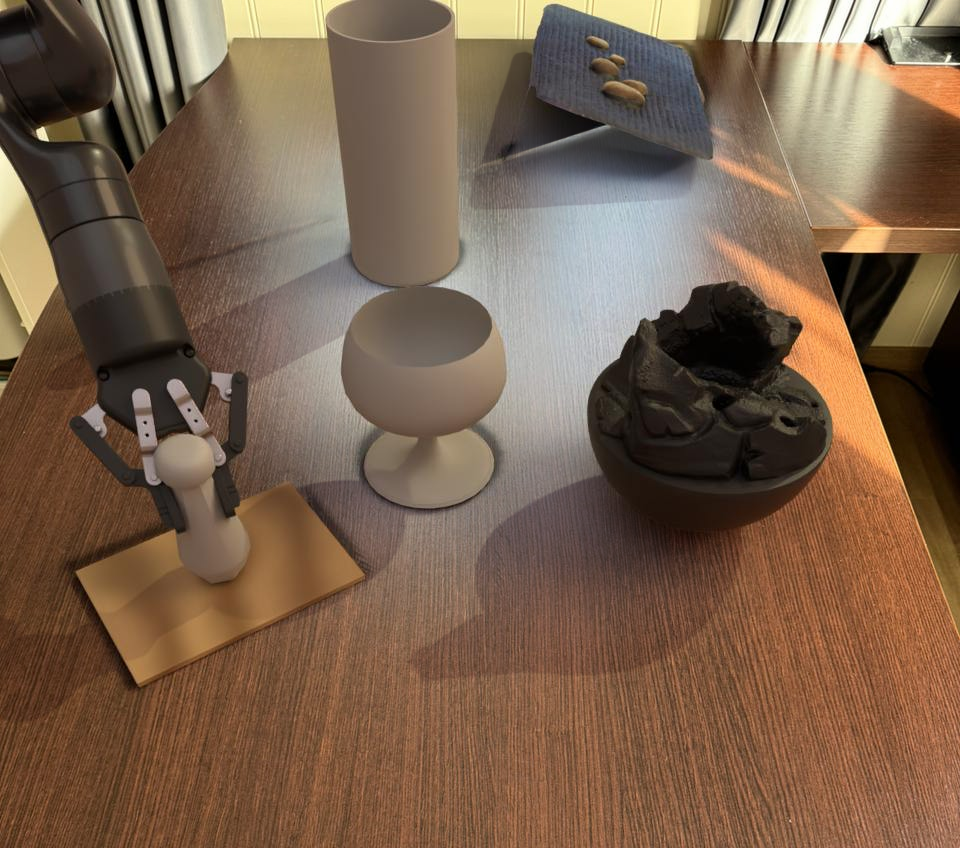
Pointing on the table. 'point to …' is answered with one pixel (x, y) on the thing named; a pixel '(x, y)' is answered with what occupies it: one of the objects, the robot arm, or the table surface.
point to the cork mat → (216, 586)
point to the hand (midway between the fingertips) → (206, 523)
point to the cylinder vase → (397, 136)
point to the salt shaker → (201, 510)
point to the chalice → (425, 391)
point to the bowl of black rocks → (709, 414)
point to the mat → (619, 79)
